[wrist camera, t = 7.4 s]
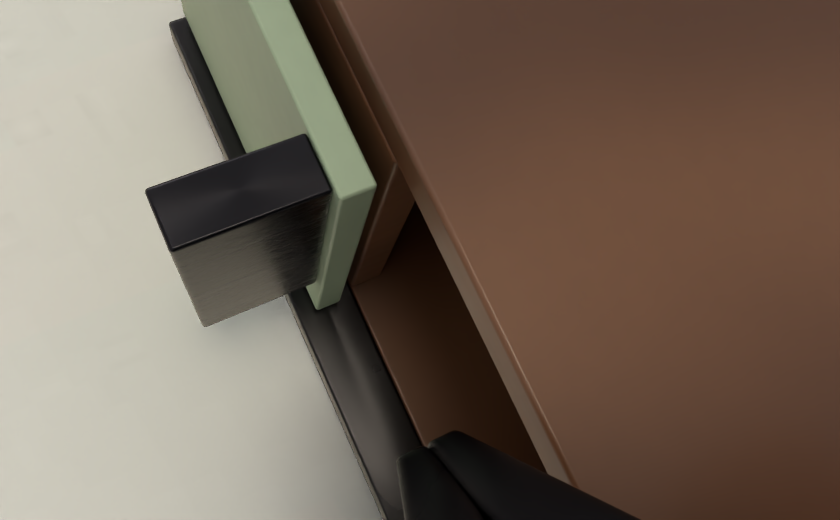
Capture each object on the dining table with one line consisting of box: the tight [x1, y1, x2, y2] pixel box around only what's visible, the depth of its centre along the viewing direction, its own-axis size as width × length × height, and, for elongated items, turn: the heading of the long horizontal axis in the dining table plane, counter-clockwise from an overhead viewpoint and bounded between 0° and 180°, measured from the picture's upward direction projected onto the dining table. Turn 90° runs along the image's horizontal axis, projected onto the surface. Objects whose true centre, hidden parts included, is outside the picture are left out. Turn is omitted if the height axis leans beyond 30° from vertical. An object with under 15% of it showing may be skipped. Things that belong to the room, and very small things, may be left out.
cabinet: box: [169, 0, 840, 520], centre depth 16 cm, size 16×11×9 cm
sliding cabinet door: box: [145, 0, 377, 327], centre depth 15 cm, size 8×3×7 cm, turn 25°
